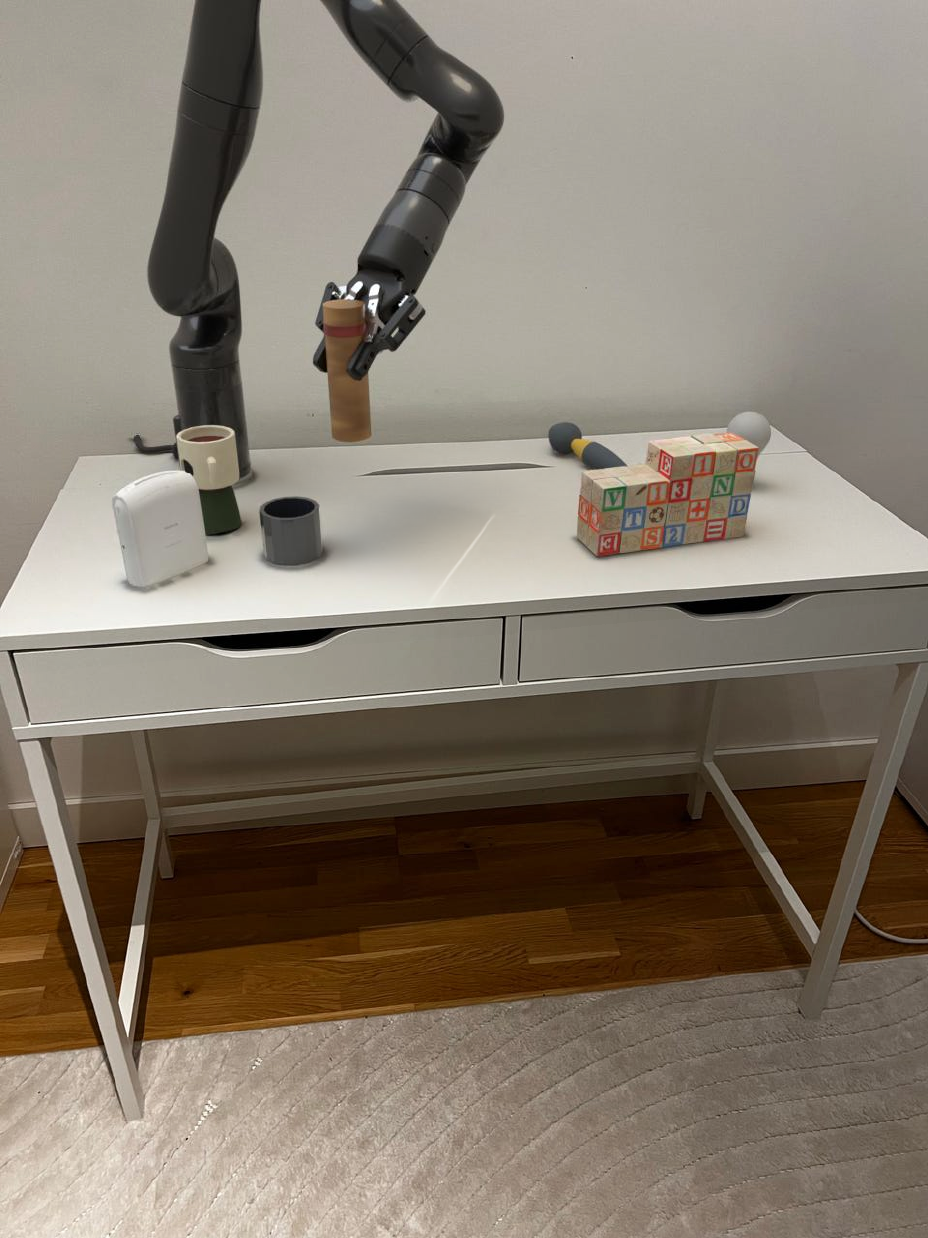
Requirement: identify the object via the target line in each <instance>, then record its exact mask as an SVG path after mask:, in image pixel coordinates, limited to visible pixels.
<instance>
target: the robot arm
mask: <svg viewBox="0 0 928 1238" xmlns="http://www.w3.org/2000/svg"><path fill="white" fill-rule="evenodd" d="M319 1H320V3H321V4H322V5H323V6H324V8H325V9H326V11H327V12H328V13H329V15H330V17H331V18H332V20H333V21H334V23H335V24H336V26H337V27H338V29H339V31H340V32H341V33H342V35H343V36H344V38H345V39H346V41H347V42H348V43H349V45H350V46H351V47H352V49H353V50H354V51H355V52H356V54H357V55H358V56H359V57H360V59H361V60H362V61H363V62H364V63H365V64H366V66H368V68H370V70H371V71H372V72H373V73H374V74H375V76H377V77H378V78H379V80H381V82H382V83H384V85H385V86H386V87H387V88H388V89H389V90H390V91H391V92H392V93H393V94H394V95H395V97H397V98H399V100H401V101H403V102H405V103H413V102H415V101H417V100H419V99H420V100H421V101H423V103H425V104H427V105H428V106H430V108H432V109H433V110H434V111H436V112H437V114H436V115H435V117H434V118H433V121H432V123H431V125H430V126H429V129H428V131H427V132H426V135H425V137H424V139H423V142H422V143H421V146H420V149H419V150H418V153H417V155H416V158H414V160H413V161H412V162H411V164H410V165H409V166H408V169H407V170H406V172H405V174H404V176H403V177H402V179H401V181H400V183H399V185H398V187H397V189H396V190H395V192H394V194H393V196H392V197H391V198H390V200H389V201H388V202H387V204H386V206H385V207H384V208H383V210H382V212H381V214H380V215H379V217H378V219H377V221H376V223H375V224H374V227H373V229H372V230H371V232H370V234H369V236H368V238H367V240H366V241H365V243H364V246H363V247H362V249H361V250H360V253H359V255H358V257H357V261H356V263H357V270H356V273H355V275H354V276H353V277H352V278H351V279H350V280H349V281H348V282H347V284H346V285H340V286H337V284H336V283H335V282H334V281H330V282H328V283H327V284H326V285H325V288H324V292H323V295H322V298H321V300H320V301H321V302H320V305H319V309H318V312H317V316H316V318H315V322H314V325H315V326H316V327H317V329H319V330H320V331H321V332H322V334H323V337H322V339H321V340H320V343H319V344H318V346H317V349H316V350H315V352H314V354H313V357H312V365H313V366H314V367H315V368H316V369H317V370H318V371H319V372H321V373H325V374H327V360H326V346H325V334H324V328H323V321H324V317H323V303H325V302H327V301H332V300H341V299H351V300H359V301H362V302H364V303H365V315H366V317H365V322H366V330H365V334H364V341H365V342H364V343H363V342H360V343H359V345H358V347H357V349H356V351H355V353H354V355H353V356H352V358H351V360H350V362H349V364H348V366H347V368H346V371H347V373H348V374H349V375H350V376H351V377H352V378H353V379H354V380H357V381H361V380H362V378H363V377H364V376H365V375H366V374H367V373H368V374H369V371H370V369H371V368H372V366H373V363H374V362H375V359H376V358H377V356H378V355H380V354H382V353H383V352H384V351H385V350H387V351H389V352H391V353H395V352H396V351H397V350H398V349H399V348H400V347H401V345H402V344H403V343H404V342H405V340H406V339H407V337H408V336H409V335H410V334H411V333H412V332H413V330H414V329H415V328H416V326H417V325H418V324H419V322H420V321H422V319H423V318H424V316H425V315H426V313H427V312H426V309H425V308H424V307H423V304H422V303H421V302H420V301H419V300H418V298H417V297H415V295H416V294H417V292H418V290H419V289H420V287H421V285H422V283H423V281H424V279H425V277H426V275H427V273H428V271H429V270H430V267H431V265H432V263H433V262H434V260H435V258H436V256H437V254H438V252H439V251H440V248H441V246H442V244H443V241H444V238H445V237H446V233H447V231H448V228H449V226H450V225H451V222H452V221H453V219H454V217H455V215H456V213H457V211H458V210H459V207H460V205H461V203H462V202H463V198H464V195H465V192H466V188H467V187H466V186H467V184H468V183H469V181H470V179H471V177H472V175H473V174H474V172H475V171H476V169H477V167H478V166H479V164H480V162H481V160H482V159H483V157H484V156H485V154H486V153H487V151H488V150H489V149H490V148H491V146H492V144H493V143H494V141H495V140H496V139H497V137H499V134H500V133H501V131H502V129H503V126H504V122H505V109H504V106H503V102H502V100H501V97H500V96H499V94H498V92H497V91H496V90H495V88H494V86H493V85H491V83H490V82H489V81H488V79H486V78H485V77H484V76H483V75H482V74H480V73H479V72H477V70H475V69H473V68H472V67H470V66H469V65H467V64H466V63H465V62H463V61H462V60H460V59H458V58H457V57H456V56H454V54H453V55H452V54H451V53H450V52H448V51H446V50H444V49H443V48H441V47H440V46H439V45H437V43H436V42H435V41H434V39H433V38H432V37H431V36H430V35H429V34H428V33H427V31H426V30H425V29H424V28H423V27H422V26H421V25H420V23H418V22H417V21H416V20H415V18H414V17H412V15H411V14H410V13H409V12H408V10H406V8H405V7H404V6H403V5H402V4H401V3H400V2H399V1H398V0H319ZM261 5H262V0H194V5H193V11H192V16H191V21H190V29H189V37H188V43H187V50H186V55H185V62H184V67H183V72H182V77H181V83H180V90H179V94H178V95H179V97H178V104H177V108H176V109H177V110H176V118H175V129H174V136H173V142H172V147H171V153H170V160H169V165H168V172H167V178H166V185H165V192H164V196H163V202H162V205H161V209H160V214H159V216H158V222H157V224H156V228H155V233H154V236H153V240H152V244H151V247H150V251H149V255H148V260H147V266H146V278H147V284H148V289H149V292H150V295H151V296H152V298H153V299H152V300H154V302H155V303H156V305H157V306H158V308H160V309H161V311H163V312H165V313H166V314H168V315H170V316H173V317H177V318H178V317H179V318H180V320H179V325H178V327H177V329H176V332H175V333H174V335H173V336H172V338H171V340H169V341H170V342H169V344H168V353H169V359H170V365H171V372H172V379H173V387H174V392H175V400H176V406H177V415H174V417H172V423H173V430H174V436H175V443H173V444H164V445H156V446H145V445H143V443H142V437H141V438H140V436H141V435H140V436H139V435H136V436H135V435H134V437H133V442H134V443H135V446H136V448H137V449H138V450H139V451H141V452H143V453H145V454H155V453H162V452H172V455H173V457H174V458H175V459H178V464H179V466H180V460H179V452H178V445H177V438H176V436H177V434H178V433H179V432H181V431H183V430H185V429H188V428H191V427H197V426H204V425H217V426H225V427H228V428H231V429H232V430H233V431H234V432H235V440H236V448H237V457H238V466H239V480H238V481H237V482H236V483H235V484H233V485H231V486H235V485H240V484H242V483H244V482H246V481H248V480H251V479H252V477H253V467H252V462H251V456H250V455H251V453H250V444H249V435H248V426H247V415H246V407H245V399H244V398H245V397H244V390H243V381H242V380H243V379H242V372H241V362H240V352H239V350H240V349H239V348H240V344H241V340H242V334H243V319H242V305H241V290H240V287H241V286H240V279H239V272H238V269H237V264H236V261H235V259H234V257H233V254H232V253H231V251H230V249H228V247H227V246H226V244H224V243H223V242H222V241H221V240H220V239H218V238H217V237H215V234H216V231H217V230H216V229H217V225H218V221H219V218H220V215H221V212H222V210H223V207H224V206H225V202H226V201H227V200H228V199H227V198H228V197H229V195H230V193H231V191H232V189H233V188H234V186H235V184H236V182H237V180H238V179H239V176H240V174H241V172H242V171H243V168H244V166H245V165H246V162H247V160H248V158H249V155H250V153H251V150H252V147H253V145H254V144H253V143H254V140H255V136H256V131H257V125H258V121H259V115H260V110H261V105H262V100H263V91H264V67H263V54H262V42H261V28H260V27H261V25H260V24H261V23H260V21H261V20H260V19H261V16H260V14H261ZM396 330H397V332H395V331H396ZM394 333H395V334H394ZM393 334H394V335H393ZM392 335H393V336H392ZM179 471H181V468H180V467H179Z"/></svg>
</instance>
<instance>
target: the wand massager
mask: <svg viewBox="0 0 928 1238" xmlns="http://www.w3.org/2000/svg"><path fill="white" fill-rule="evenodd" d="M547 436H548V437H547V438H548V442H549V444H550V447H551V448H552V450H553V451H554V452H556V453H558V454H560V455H570V454H573V453H574V454H575V455H576V456H577V457H578V459H579V460H580V461H581V462H582V463H583V464H584V465H586V466H588V467H589V468H590V469H592V470H598V469H605V468H614V467H622V466H628V465H627V464H626V462H625V461H624V460H623V459H622V458H621V457H620V456H618V455H617V454H616V453H614V451H612V450H611V449H609V448H608V447H606V446H604V445H602V444H601V443H599V442H597V441H593V440H589V439H583V435H582V431H581V429H580V428H579V427H578V426H577V425H576V424H575V423H573V422H569V421H564V422H559V423H555V424H552V425H551V426H550V428H549V430H548V435H547Z"/></svg>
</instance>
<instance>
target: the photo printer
mask: <svg viewBox="0 0 928 1238" xmlns="http://www.w3.org/2000/svg"><path fill="white" fill-rule="evenodd" d="M111 502H112V505H111V507H112V510H113V517H114V520H115V521H114V522H115V526H116V530H117V535H118V541H119V545H120V551H121V556H122V559H123V560H122V562H123V565H124V566H123V567H124V572H125V576H126V578H127V579H128V583H129V584H130V585H131V586H135V587H141V588H147V587H150V586H154V585H157V584H159V583H162V582H164V581H167V580H169V579H172V578H174V577H176V576H179V575H181V574H184V573H187V572H189V571H191V570H193V569H195V568H198V567H200V566H202V565H204V564H206V563H208V562H209V550H208V543H207V535H206V534H205V528H204V522H203V515H202V508H201V502H200V496H199V490H198V486H197V483H196V481H195V479H194V478H193V476H192V475H191V474H190V473H186V472H185V471H180V470H164V471H159V472H155V473H151V474H147V475H145V476H142V477H141V478H138V479H136V480H134V481H132V482H130V483H128V484H127V485H126V486H124V487H123V488H121V489H120V490H119V491H117V492H116V493H115V494H114V495H113V497H112V501H111Z"/></svg>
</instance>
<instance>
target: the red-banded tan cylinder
mask: <svg viewBox="0 0 928 1238" xmlns="http://www.w3.org/2000/svg"><path fill="white" fill-rule="evenodd" d="M323 317H324V321H323V328H324V333H323V335H324V334H325V346H326V360H327V373H326V374H327V388H328V399H329V400H328V403H329V414H330V428H331V438H332V439H333V440H335V441H338V442H342V443H358V442H362V441H366V440H368V439H370V438H371V437H372V419H371V418H372V417H371V400H370V398H371V397H370V379H369V378H370V377H369V376H370V375H369V372H368V373H367V374H366V375H365V376H364V377H363V378H362V380H361V381H357V380H354V379H353V378H352V377H351V376H350V375H349V374H348V373H347V371H346V368H347V366H348V364H349V362H350V360H351V358H352V356H353V355H354V353H355V351H356V349H357V347H358V345H359V343H360V342H363V343H364V342H365V341H364V334H365V330H366V322H365V317H366V315H365V303H364V302H362V301H359V300H351V299H341V300H332V301H327V302H325V303H323Z"/></svg>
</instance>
